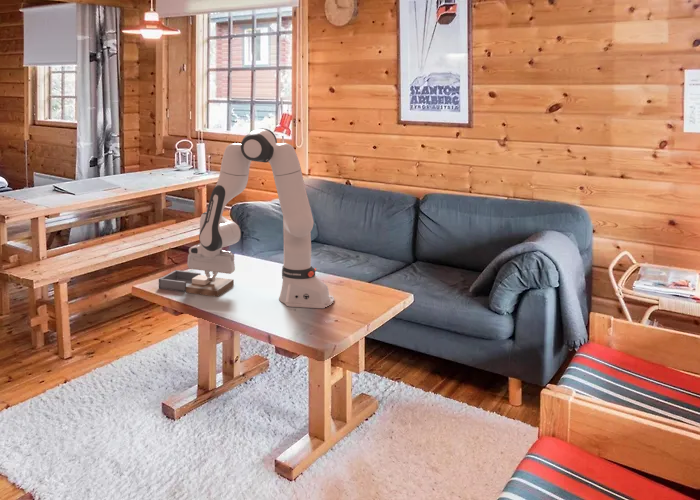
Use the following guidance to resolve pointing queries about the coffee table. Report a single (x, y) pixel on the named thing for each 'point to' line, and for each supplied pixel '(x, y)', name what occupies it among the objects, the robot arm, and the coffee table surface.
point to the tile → (200, 280)
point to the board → (211, 287)
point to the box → (177, 280)
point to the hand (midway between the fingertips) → (211, 281)
